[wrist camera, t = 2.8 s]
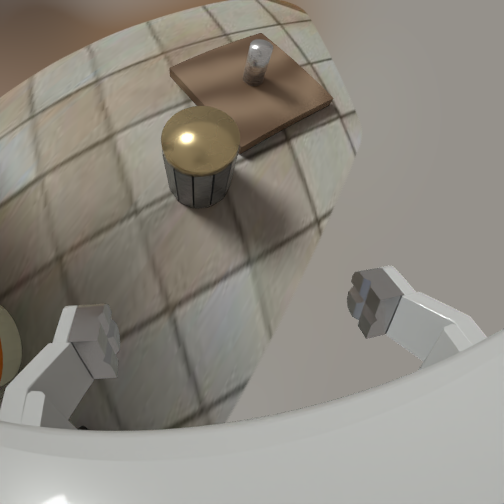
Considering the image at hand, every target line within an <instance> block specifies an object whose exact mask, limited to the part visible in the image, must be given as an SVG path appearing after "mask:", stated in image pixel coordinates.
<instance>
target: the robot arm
mask: <svg viewBox="0 0 504 504" xmlns="http://www.w3.org/2000/svg"><path fill="white" fill-rule="evenodd" d="M351 282H352V284H353V285H354V286H353V287H352V288H351V289H350V291H349V292H348V296H347V305H348V309H349V311H350V313H351V315H352V317H354V318H356V319H358V320H359V323H358V327H359V328H360V330H361V331H362V333H363V334H364V336H365V338H366V339H367V338H372V337H376V336H380V335H384V334H386V336H388V337H390V338H391V339H392V340H394V341H395V342H397V343H398V344H400V345H401V346H402V347H404V348H405V349H407V350H408V351H409V352H411V353H412V354H414V355H415V356H417V357H418V358H419V359H421V360H422V361H424V362H423V364H422V365H421V367H420V368H419V370H418V371H416V372H413V373H411V374H409V375H406V376H403V377H401V378H398V379H396V380H393V381H390V382H387V383H385V384H382V385H379V386H376V387H373V388H370V389H367V390H364V391H361V392H358V393H355V394H351V395H348V396H345V397H341V398H338V399H335V400H331V401H327V402H324V403H320V404H316V405H313V406H308V407H305V408H300V409H296V410H292V411H288V412H283V413H279V414H273V415H268V416H264V417H258V418H253V419H247V420H241V421H235V422H228V423H221V424H214V425H206V426H197V427H187V428H175V429H161V430H138V431H94V430H78V429H77V428H76V427H75V426H74V425H73V424H72V423H71V422H70V421H69V420H68V419H69V418H70V416H71V414H72V413H73V411H74V410H75V408H76V407H77V405H78V404H79V402H80V401H81V399H82V397H83V396H84V394H85V393H86V391H87V390H88V388H89V387H90V385H91V384H92V382H93V381H94V380H93V379H103V378H117V373H118V362H119V361H118V359H117V357H116V354H117V353H118V351H119V350H120V334H119V330H118V327H117V324H116V322H115V321H113V320H112V319H111V315H112V311H111V309H110V307H109V305H108V304H106V303H104V304H87V305H75V306H66V307H64V308H63V311H62V314H61V317H60V320H59V323H58V326H57V329H56V333H55V336H54V339H53V343H49V344H48V345H46V346H45V347H44V348H43V349H42V350H41V351H40V352H39V354H38V355H37V356H36V357H35V358H34V359H33V360H32V361H31V362H30V363H29V364H28V365H27V366H26V367H25V368H24V369H23V370H22V371H21V372H20V373H19V374H18V375H17V376H16V377H15V378H14V379H13V380H12V382H11V383H10V384H9V385H8V386H7V387H6V389H5V393H4V397H3V401H2V405H1V409H0V504H504V329H502V330H500V331H499V332H497V333H495V334H493V335H491V336H489V337H488V338H487V336H486V335H485V334H484V333H483V331H482V330H481V329H480V328H479V327H478V325H477V324H476V323H475V322H474V321H473V319H472V318H471V317H470V316H469V315H467V314H465V313H462V312H461V311H459V310H456V309H454V308H452V307H450V306H448V305H446V304H444V303H442V302H440V301H438V300H436V299H434V298H432V297H430V296H427V295H425V294H423V293H421V292H416V291H415V290H414V289H413V288H412V287H411V286H410V285H409V283H408V282H407V281H406V280H405V279H404V278H403V276H402V275H401V274H400V273H399V272H398V271H397V270H396V269H395V268H394V267H393V266H391V265H390V266H385V267H380V268H375V269H370V270H364V271H358V272H355V273H354V274H353V276H352V280H351Z"/></svg>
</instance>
